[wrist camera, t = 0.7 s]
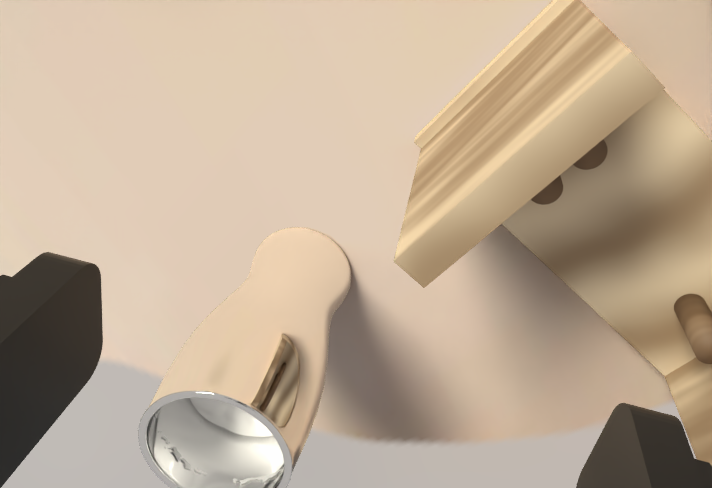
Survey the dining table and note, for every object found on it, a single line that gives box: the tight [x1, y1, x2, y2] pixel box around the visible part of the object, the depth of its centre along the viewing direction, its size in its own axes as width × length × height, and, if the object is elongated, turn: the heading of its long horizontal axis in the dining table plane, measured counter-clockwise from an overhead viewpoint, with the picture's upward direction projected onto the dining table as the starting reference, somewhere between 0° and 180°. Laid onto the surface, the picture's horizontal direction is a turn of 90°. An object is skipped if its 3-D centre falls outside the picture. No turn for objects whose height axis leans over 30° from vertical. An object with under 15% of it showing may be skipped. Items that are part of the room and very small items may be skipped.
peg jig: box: [394, 0, 712, 466], centre depth 28 cm, size 22×10×13 cm, turn 49°
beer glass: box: [138, 227, 351, 488], centre depth 33 cm, size 7×7×15 cm
